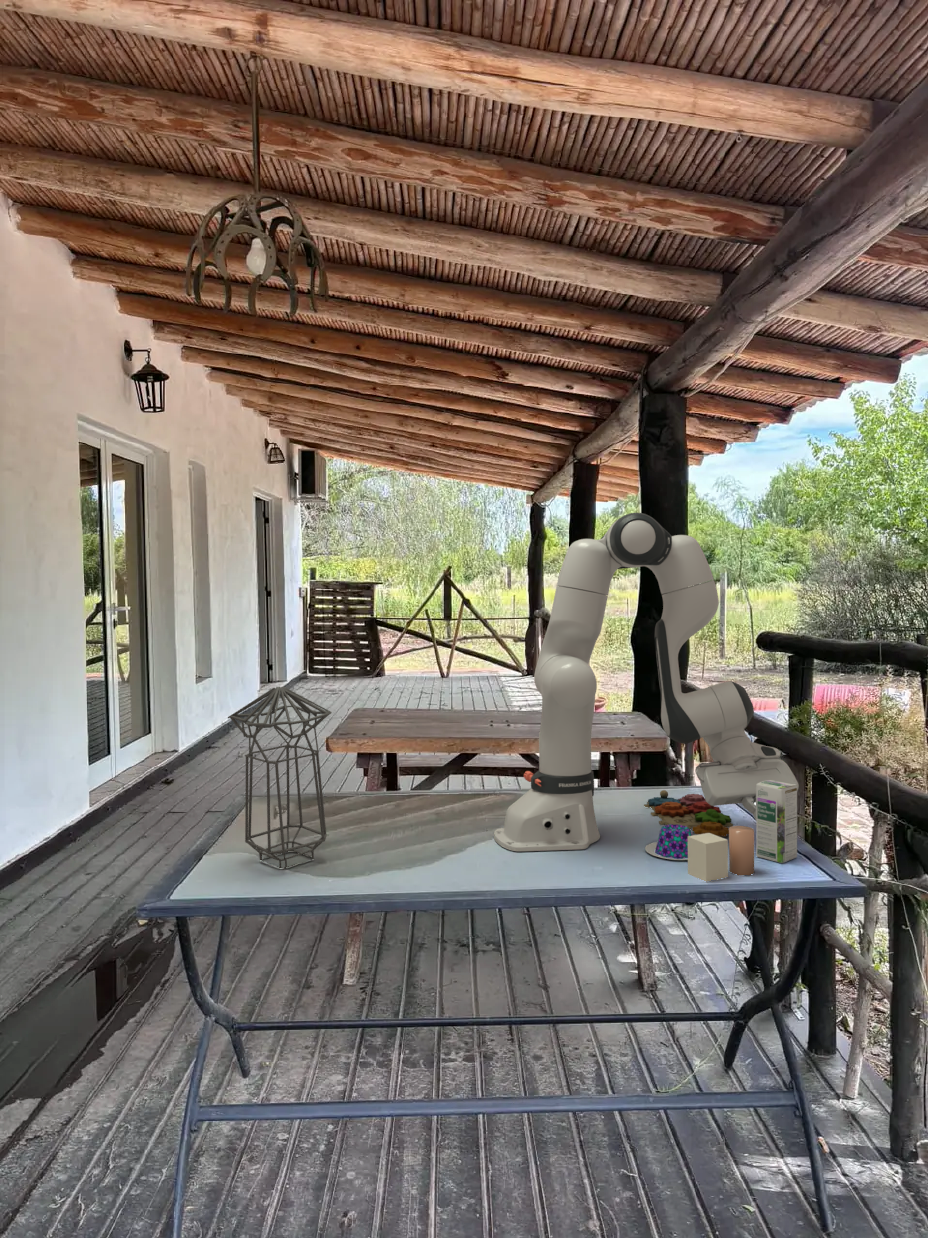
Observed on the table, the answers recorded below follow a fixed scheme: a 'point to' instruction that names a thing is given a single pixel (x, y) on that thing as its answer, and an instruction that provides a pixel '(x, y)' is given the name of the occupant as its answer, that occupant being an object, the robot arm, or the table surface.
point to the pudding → (671, 842)
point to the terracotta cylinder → (741, 850)
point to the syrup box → (776, 821)
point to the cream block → (707, 857)
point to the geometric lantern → (274, 695)
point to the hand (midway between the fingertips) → (765, 818)
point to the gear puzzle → (690, 813)
